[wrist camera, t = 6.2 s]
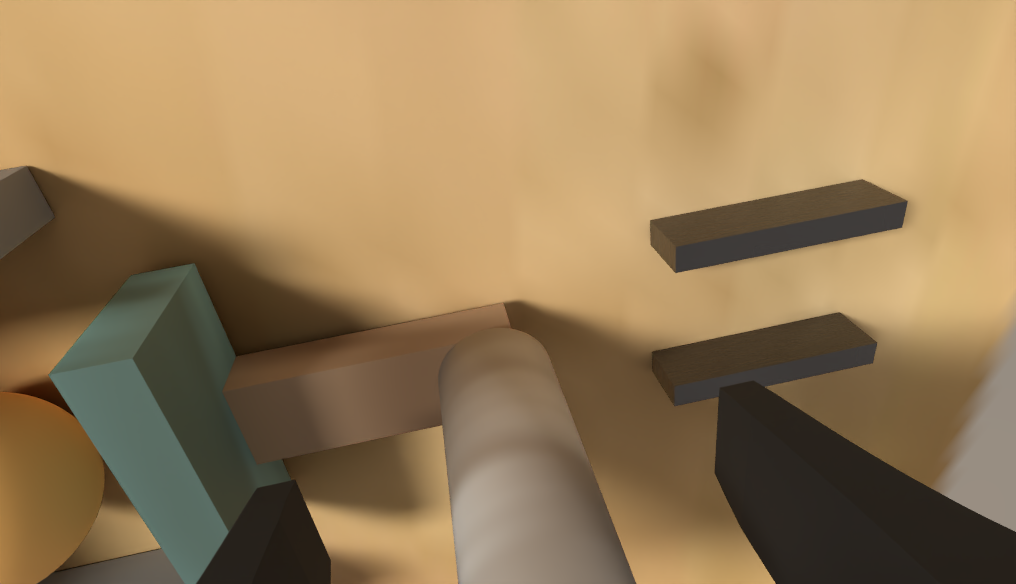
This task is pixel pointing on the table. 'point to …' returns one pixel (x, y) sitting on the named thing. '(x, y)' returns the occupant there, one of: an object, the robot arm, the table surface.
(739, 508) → the robot arm
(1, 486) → the ball
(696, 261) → the track
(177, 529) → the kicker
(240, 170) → the table surface
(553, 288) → the table surface
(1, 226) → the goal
